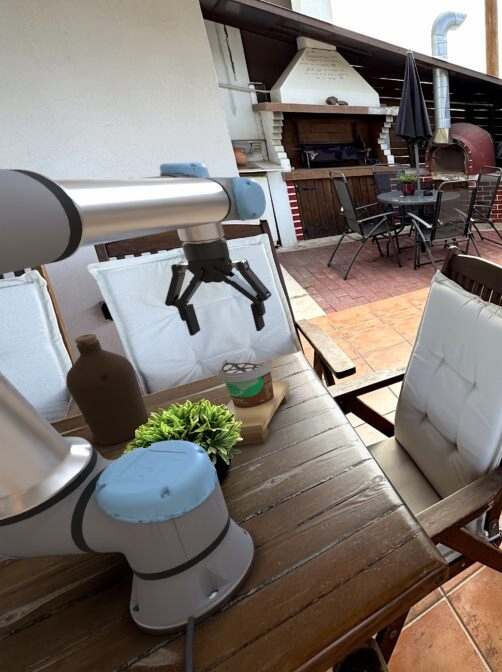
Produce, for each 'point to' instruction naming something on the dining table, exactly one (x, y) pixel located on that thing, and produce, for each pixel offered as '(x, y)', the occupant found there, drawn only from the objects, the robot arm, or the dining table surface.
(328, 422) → the dining table surface
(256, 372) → the food container
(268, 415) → the tan wooden block
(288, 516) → the dining table surface
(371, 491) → the dining table surface
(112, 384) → the olive oil
